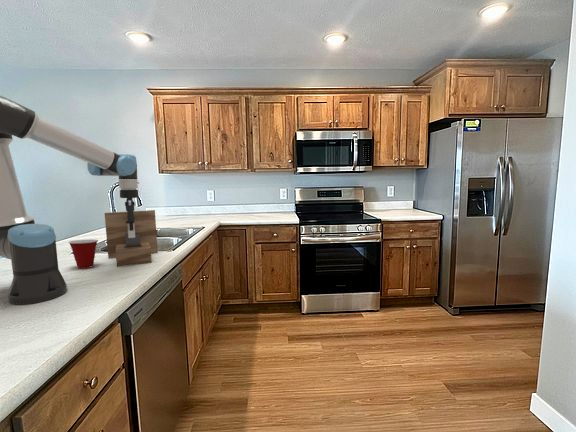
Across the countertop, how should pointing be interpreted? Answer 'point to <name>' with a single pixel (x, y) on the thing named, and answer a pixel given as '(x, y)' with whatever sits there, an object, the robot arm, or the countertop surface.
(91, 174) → the robot arm
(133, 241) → the dark grey rectangular post
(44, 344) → the countertop surface
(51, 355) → the countertop surface
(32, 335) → the countertop surface
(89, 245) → the plastic cup
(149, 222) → the wooden panel stand
